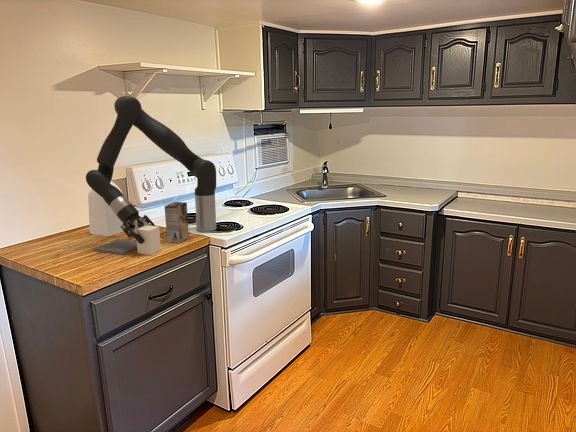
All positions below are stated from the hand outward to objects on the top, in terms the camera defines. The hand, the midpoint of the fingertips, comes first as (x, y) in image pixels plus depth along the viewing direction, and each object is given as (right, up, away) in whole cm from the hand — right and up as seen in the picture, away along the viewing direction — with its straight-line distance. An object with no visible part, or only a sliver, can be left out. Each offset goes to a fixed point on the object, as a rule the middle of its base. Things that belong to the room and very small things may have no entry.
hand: (149, 239), depth 177 cm
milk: (-28, +2, +29) cm, 41 cm away
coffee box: (+7, -1, +18) cm, 19 cm away
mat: (-14, -4, +6) cm, 16 cm away
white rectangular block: (-1, -5, +2) cm, 5 cm away
